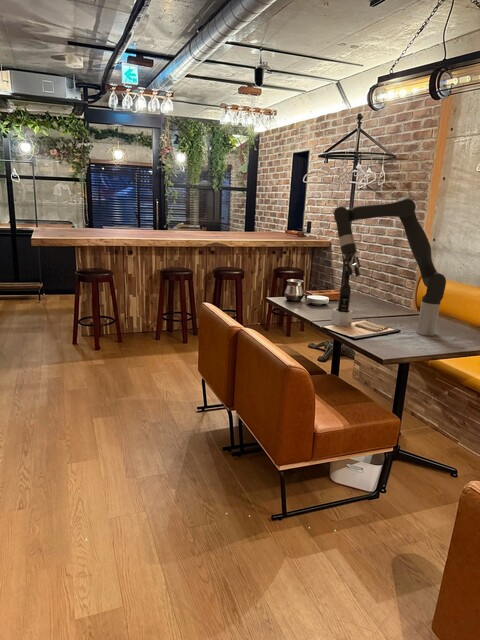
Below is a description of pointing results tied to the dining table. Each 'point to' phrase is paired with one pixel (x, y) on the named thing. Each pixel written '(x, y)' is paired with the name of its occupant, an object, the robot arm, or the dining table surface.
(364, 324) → the oak board
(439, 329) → the dining table surface
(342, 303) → the wine bottle
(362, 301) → the dining table surface
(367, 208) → the robot arm
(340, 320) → the wooden sleeve
